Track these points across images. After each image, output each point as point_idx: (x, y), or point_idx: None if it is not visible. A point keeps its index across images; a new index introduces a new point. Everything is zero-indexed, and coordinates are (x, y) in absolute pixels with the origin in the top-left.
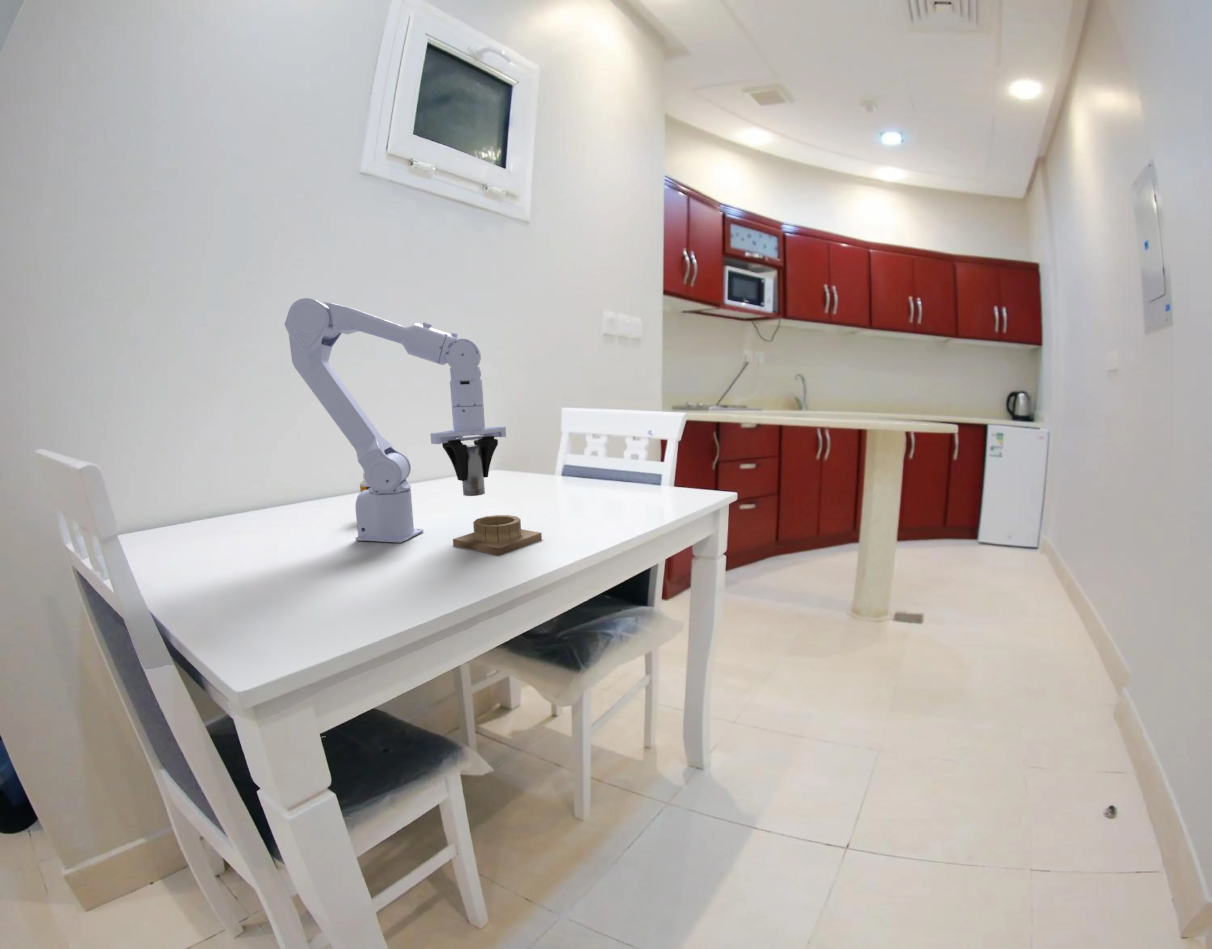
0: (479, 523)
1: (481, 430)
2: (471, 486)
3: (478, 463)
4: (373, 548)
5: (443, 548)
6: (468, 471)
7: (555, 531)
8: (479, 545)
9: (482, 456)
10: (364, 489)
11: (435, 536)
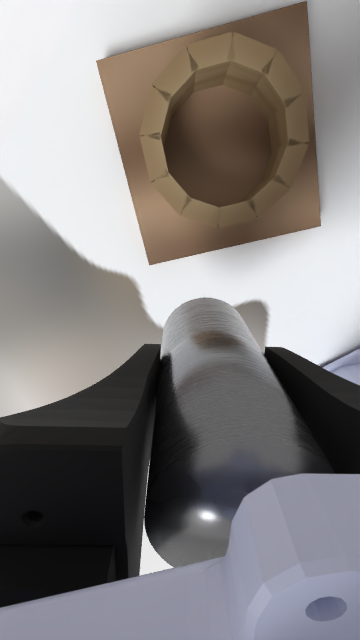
0: (290, 151)
1: (329, 624)
2: (241, 322)
3: (219, 358)
4: None
5: (342, 222)
6: (267, 360)
7: (18, 119)
8: (311, 106)
9: (145, 434)
10: None
11: (286, 336)
